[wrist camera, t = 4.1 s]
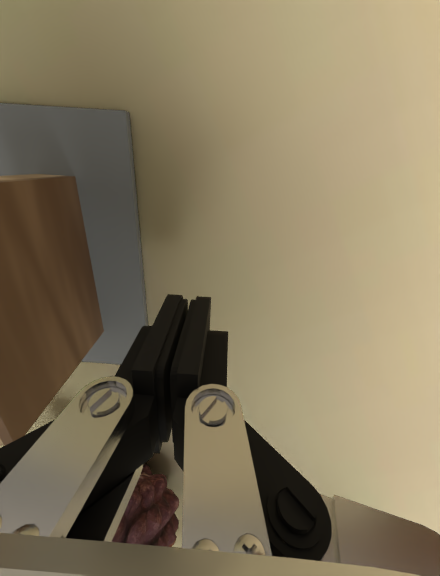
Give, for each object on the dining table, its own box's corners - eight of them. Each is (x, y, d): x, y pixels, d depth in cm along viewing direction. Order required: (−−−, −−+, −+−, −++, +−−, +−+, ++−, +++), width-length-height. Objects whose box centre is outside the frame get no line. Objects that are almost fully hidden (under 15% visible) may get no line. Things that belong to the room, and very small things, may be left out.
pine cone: (31, 416, 23) (-97, 576, 14) (117, 385, 21) (29, 553, 12) (139, 507, 30) (99, 654, 21) (213, 491, 27) (204, 650, 19)
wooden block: (75, 176, 13) (-114, 192, 6) (103, 331, 18) (15, 446, 10) (37, 173, 13) (-195, 186, 6) (75, 329, 18) (-32, 442, 10)
